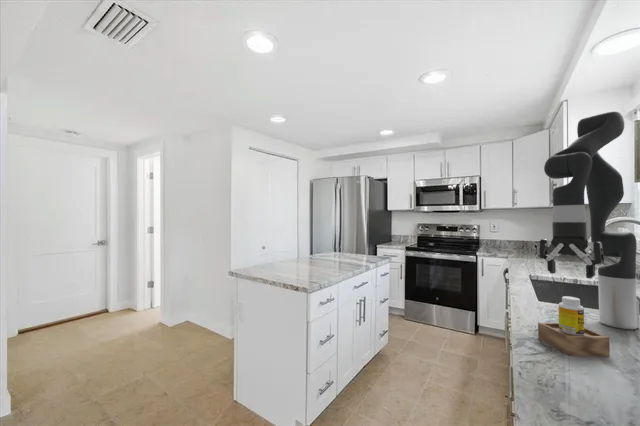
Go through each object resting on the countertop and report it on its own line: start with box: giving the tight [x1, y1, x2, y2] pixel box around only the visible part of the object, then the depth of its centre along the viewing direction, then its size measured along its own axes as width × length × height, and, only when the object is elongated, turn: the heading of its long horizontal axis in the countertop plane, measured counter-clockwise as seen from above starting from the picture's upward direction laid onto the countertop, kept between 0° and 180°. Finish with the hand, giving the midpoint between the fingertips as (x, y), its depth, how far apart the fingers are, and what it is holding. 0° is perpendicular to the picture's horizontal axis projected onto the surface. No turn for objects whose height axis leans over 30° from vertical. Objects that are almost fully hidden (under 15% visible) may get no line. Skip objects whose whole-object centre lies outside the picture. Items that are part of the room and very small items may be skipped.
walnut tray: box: [537, 321, 611, 357], centre depth 82 cm, size 11×11×5 cm
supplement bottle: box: [558, 295, 585, 336], centre depth 82 cm, size 6×6×10 cm
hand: (570, 275), depth 82 cm, fingers open, 8 cm apart
